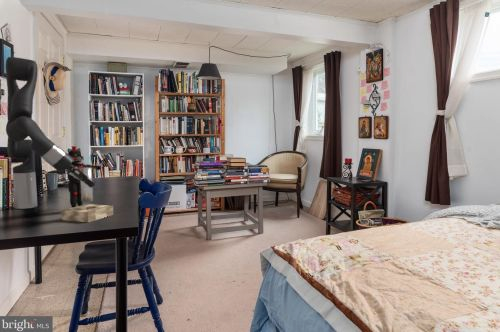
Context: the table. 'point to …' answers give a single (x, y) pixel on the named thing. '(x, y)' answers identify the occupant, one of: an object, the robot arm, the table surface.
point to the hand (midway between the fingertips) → (91, 185)
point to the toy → (74, 183)
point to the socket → (87, 213)
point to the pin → (86, 186)
